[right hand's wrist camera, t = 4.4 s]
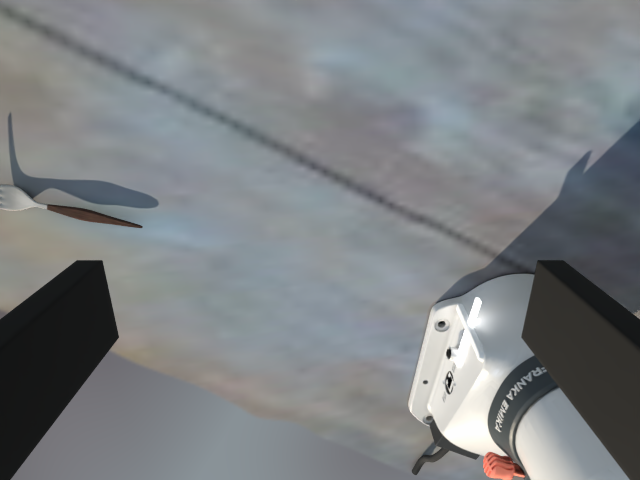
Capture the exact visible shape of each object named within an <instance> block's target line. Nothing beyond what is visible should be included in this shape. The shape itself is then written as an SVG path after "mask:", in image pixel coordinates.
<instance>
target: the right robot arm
mask: <svg viewBox="0 0 640 480" xmlns="http://www.w3.org/2000/svg"><path fill="white" fill-rule="evenodd" d="M118 338H119V335H118V331H117V326H116V322H115V317H114V312H113V308H112V303H111V298H110V294H109V289H108V284H107V280H106V275H105V271H104V266H103V261H102V260H77V261H76V262H74V263H73V264H72V265H70V266H69V267H68V268H66V269H65V270H64V271H63V272H61V273H60V274H59V275H57V276H56V277H55V278H53V279H52V280H51V281H50V282H48V283H47V284H46V285H44V286H43V287H42V288H40V289H39V290H38V291H37V292H35V293H34V294H33V295H31V296H30V297H29V298H27V299H26V300H25V301H24V302H22V303H21V304H20V305H18V306H17V307H16V308H14V309H13V310H12V311H11V312H9V313H8V314H7V315H5V316H4V317H3V318H1V319H0V480H10V479H11V478H12V477H13V476H14V474H15V473H16V472H17V470H18V469H19V468H20V466H21V465H22V464H23V462H24V461H25V460H26V458H27V457H28V456H29V455H30V453H31V452H32V451H33V449H34V448H35V447H36V445H37V444H38V443H39V441H40V440H41V439H42V437H43V436H44V435H45V434H46V432H47V431H48V430H49V428H50V427H51V426H52V424H53V423H54V422H55V420H56V419H57V418H58V417H59V415H60V414H61V413H62V411H63V410H64V409H65V407H66V406H67V405H68V403H69V402H70V401H71V399H72V398H73V397H74V396H75V394H76V393H77V392H78V390H79V389H80V388H81V386H82V385H83V384H84V382H85V381H86V380H87V378H88V377H89V376H90V375H91V373H92V372H93V371H94V369H95V368H96V367H97V365H98V364H99V363H100V361H101V360H102V359H103V357H104V356H105V355H106V354H107V352H108V351H109V350H110V348H111V347H112V346H113V344H114V343H115V342H116V340H117V339H118ZM521 338H522V339H523V340H524V342H525V343H526V344H527V346H528V347H529V348H530V350H531V351H532V352H533V354H534V355H535V356H536V357H537V359H538V360H539V361H540V363H541V364H542V365H543V367H544V368H545V369H546V371H547V372H548V373H549V375H550V376H551V377H552V378H553V380H554V381H555V382H556V384H557V385H558V386H559V388H560V389H561V390H562V392H563V393H564V394H565V396H566V397H567V398H568V399H569V401H570V402H571V403H572V405H573V406H574V407H575V409H576V410H577V411H578V413H579V414H580V415H581V417H582V418H583V419H584V420H585V422H586V423H587V424H588V426H589V427H590V428H591V430H592V431H593V432H594V434H595V435H596V436H597V437H598V439H599V440H600V441H601V443H602V444H603V445H604V447H605V448H606V449H607V451H608V452H609V453H610V455H611V456H612V457H613V458H614V460H615V461H616V462H617V464H618V465H619V466H620V468H621V469H622V470H623V472H624V473H625V474H626V476H627V477H628V478H629V479H630V480H640V319H639V318H637V317H636V316H635V315H633V314H632V313H631V312H629V311H628V310H627V309H626V308H624V307H623V306H622V305H620V304H619V303H618V302H616V301H615V300H614V299H613V298H611V297H610V296H609V295H607V294H606V293H605V292H603V291H602V290H601V289H600V288H598V287H597V286H596V285H594V284H593V283H592V282H590V281H589V280H588V279H587V278H585V277H584V276H583V275H581V274H580V273H579V272H577V271H576V270H575V269H574V268H572V267H571V266H570V265H568V264H567V263H566V262H564V261H563V260H538V261H537V266H536V271H535V275H534V280H533V284H532V289H531V294H530V298H529V303H528V308H527V312H526V317H525V321H524V326H523V331H522V335H521Z"/></svg>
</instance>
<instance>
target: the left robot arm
mask: <svg viewBox="0 0 640 480" xmlns="http://www.w3.org/2000/svg"><path fill="white" fill-rule="evenodd" d="M533 280H534V275H533V274H511V275H505V276H501V277H497V278H494V279H492V280H489V281H487V282H485V283H483V284H481V285H479V286H477V287H476V288H474V289H473V290H471V291H470V292H468V293H466V294H464V295H462V296H460V297H456V298H452V299H447V300H444V301H441V302H439V303H437V304H435V305H434V306H433V307H432V309H431V312H430V316H429V321H428V325H427V329H426V333H425V337H424V341H423V345H422V349H421V353H420V357H419V361H418V365H417V369H416V373H415V377H414V382H413V386H412V390H411V394H410V398H409V403H408V406H409V409H410V411H411V413H412V414H413V415H414V416H415V417H416V418H417V419H418V420H419V421H421V422H422V423H424V424H426V425H427V426H429V427H430V429H431V432H432V435H433V439H434V442H435V445H436V446H439V447H442V448H441V449H440V450H439V451H438V452H437V453H435V454H433V455H423V456H422V457H421V458H420V459H419V460H418V461H417V463H416V464H415V466H414V468H413V469H412V473H413V474H414V475H417V474H418V472H419V470H420V469H421V467H422V465H423V464H424V463H425V462H435V461H437V460H439V459H440V458H442V457H443V456H444V455H445V454H446V453H447V452H448V451H449V450H450V451H453V452H456V453H458V454H461V455H464V456H467V457H470V458H473V459H475V460H476V459H477V458H478V457H479V455H483V456H485V457H484V461H483V463H484V465H483V467H484V469H485V470H484V471H485V473H486V475H487V476H489V477H491V478H502V479H503V480H511V479H512V478H513V476H514V475H515V476H520V477H523V478H524V480H630V479H629V478H628V477H627V476H626V474H625V473H624V472H623V470H622V469H621V468H620V466H619V465H618V464H617V462H616V461H615V460H614V458H613V457H612V456H611V455H610V453H609V452H608V451H607V449H606V448H605V447H604V445H603V444H602V443H601V441H600V440H599V439H598V437H597V436H596V435H595V434H594V432H593V431H592V430H591V428H590V427H589V426H588V424H587V423H586V422H585V420H584V419H583V418H582V417H581V415H580V414H579V413H578V411H577V410H576V409H575V407H574V406H573V405H572V403H571V402H570V401H569V399H568V398H567V397H566V396H565V394H564V393H563V392H562V390H561V389H560V388H559V386H558V385H557V384H556V382H555V381H554V380H553V378H552V377H551V376H550V375H549V373H548V372H547V371H546V369H545V368H544V367H543V365H542V364H541V363H540V361H539V360H538V359H537V357H536V356H535V355H534V354H533V352H532V351H531V350H530V348H529V347H528V346H527V344H526V343H525V342H524V340H523V339H522V338H521V335H522V331H523V326H524V321H525V317H526V312H527V308H528V303H529V298H530V294H531V289H532V284H533ZM440 321H444V322H443V323H442V324H438V323H439V322H440ZM427 416H428V417H427ZM512 460H513V461H514V462H516V463H513V461H512Z"/></svg>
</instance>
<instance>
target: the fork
mask: <svg viewBox="0 0 640 480" xmlns="http://www.w3.org/2000/svg"><path fill="white" fill-rule="evenodd" d="M0 203H1V204H0V209H4V210H13V211H18V210H24V209H28V208H31V207H40V208H44V209H47V210H50V211H54V212H57V213H60V214H63V215H66V216H69V217H72V218H76V219H79V220H84V221H89V222H97V223H106V224H114V225H121V226H128V227H136V228H142V226H141V225H138V224H135V223H131V222H128V221H124V220H121V219H117V218H114V217H111V216H107V215H104V214H101V213H98V212H95V211H91V210H87V209H82V208H76V207H67V206H58V205H49V204H42V203H38V202H36V201H35V200H33V199H32V198H31V197H30V196H29V195H28V194H27V193H26V192H24V191H23V190H22V189H20V188H18V187H16V186H13V185H3V184H0Z"/></svg>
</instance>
